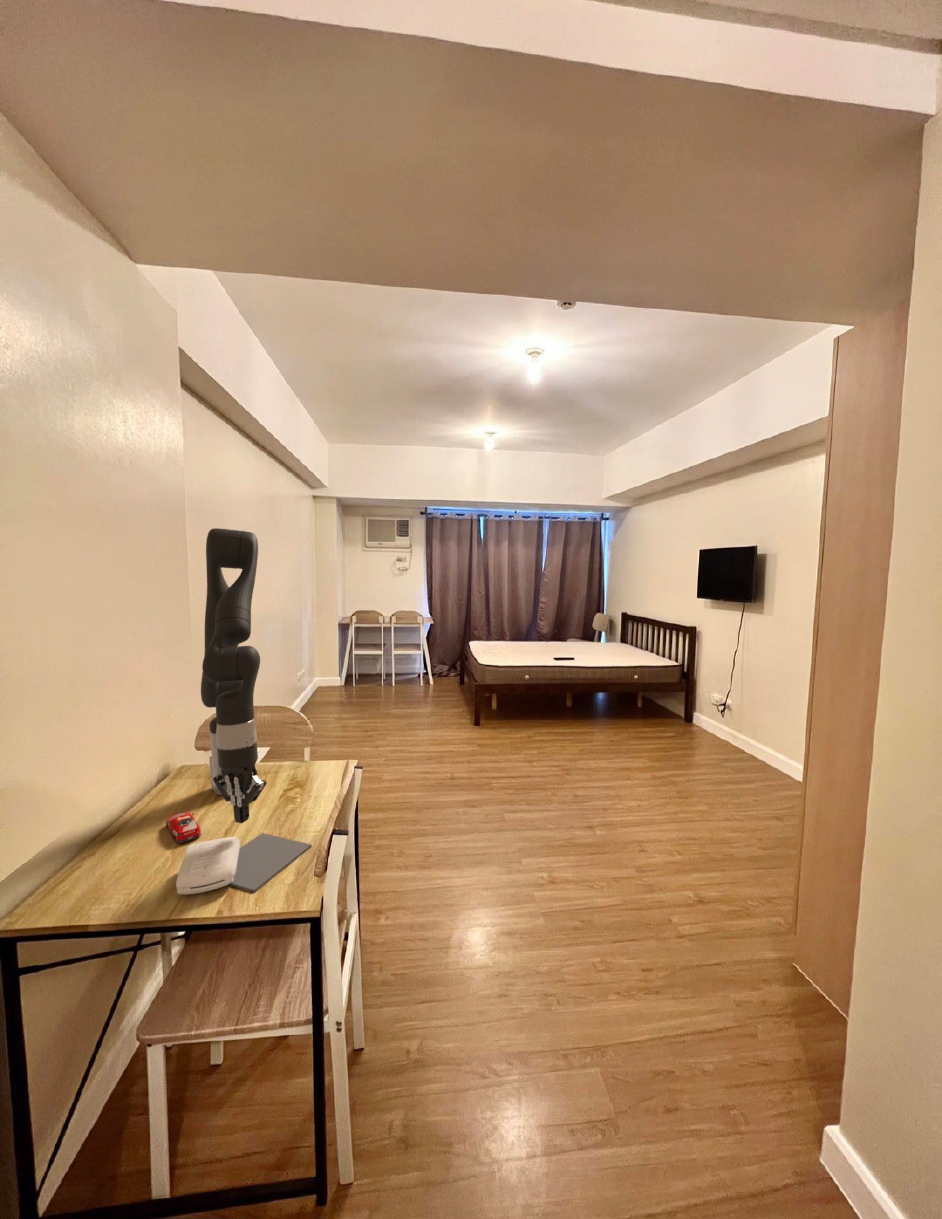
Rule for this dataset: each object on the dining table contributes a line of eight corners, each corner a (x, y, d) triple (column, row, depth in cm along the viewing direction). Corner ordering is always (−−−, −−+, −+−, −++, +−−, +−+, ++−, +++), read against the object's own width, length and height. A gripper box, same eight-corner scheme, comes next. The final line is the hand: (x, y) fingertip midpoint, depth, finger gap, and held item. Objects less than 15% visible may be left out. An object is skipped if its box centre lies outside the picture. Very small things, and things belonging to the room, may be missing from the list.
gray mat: (201, 876, 96) (200, 874, 96) (262, 835, 111) (262, 833, 111) (254, 892, 91) (254, 890, 91) (311, 846, 105) (311, 844, 105)
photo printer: (186, 863, 99) (173, 904, 87) (184, 844, 98) (171, 883, 87) (241, 851, 103) (236, 890, 91) (239, 833, 102) (234, 869, 91)
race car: (164, 826, 116) (163, 810, 116) (190, 818, 120) (188, 802, 119) (176, 848, 106) (174, 831, 106) (203, 839, 110) (202, 822, 110)
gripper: (198, 744, 99) (203, 824, 100) (246, 751, 94) (251, 836, 96) (228, 732, 106) (233, 807, 107) (275, 738, 101) (279, 817, 102)
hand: (242, 821), depth 101 cm, fingers closed
